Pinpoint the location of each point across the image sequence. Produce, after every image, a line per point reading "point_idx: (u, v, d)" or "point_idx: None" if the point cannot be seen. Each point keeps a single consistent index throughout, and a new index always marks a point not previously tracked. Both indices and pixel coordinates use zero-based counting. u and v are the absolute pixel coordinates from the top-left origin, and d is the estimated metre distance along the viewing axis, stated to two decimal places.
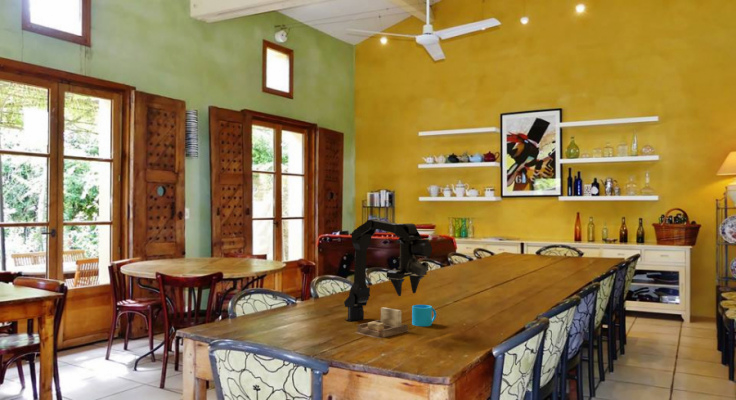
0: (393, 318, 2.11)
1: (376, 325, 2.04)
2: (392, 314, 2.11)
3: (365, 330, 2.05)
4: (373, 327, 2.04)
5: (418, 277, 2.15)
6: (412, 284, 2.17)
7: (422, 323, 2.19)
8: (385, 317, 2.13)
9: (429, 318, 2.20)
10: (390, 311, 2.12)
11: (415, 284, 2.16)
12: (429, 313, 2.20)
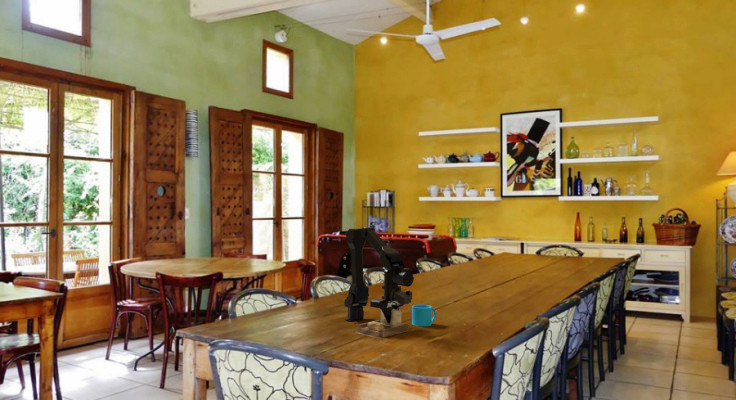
0: (393, 318, 2.11)
1: (376, 325, 2.04)
2: (392, 314, 2.11)
3: (365, 330, 2.05)
4: (373, 327, 2.04)
5: (397, 306, 2.13)
6: None
7: (422, 323, 2.19)
8: None
9: (429, 318, 2.20)
10: None
11: None
12: (429, 313, 2.20)
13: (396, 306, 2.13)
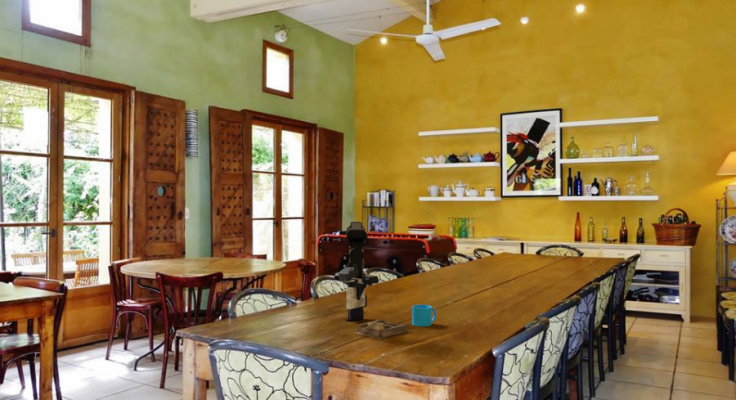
0: None
1: (376, 325, 2.04)
2: None
3: (365, 330, 2.05)
4: (373, 327, 2.04)
5: None
6: None
7: (422, 323, 2.19)
8: None
9: (429, 318, 2.20)
10: None
11: None
12: (429, 313, 2.20)
13: None
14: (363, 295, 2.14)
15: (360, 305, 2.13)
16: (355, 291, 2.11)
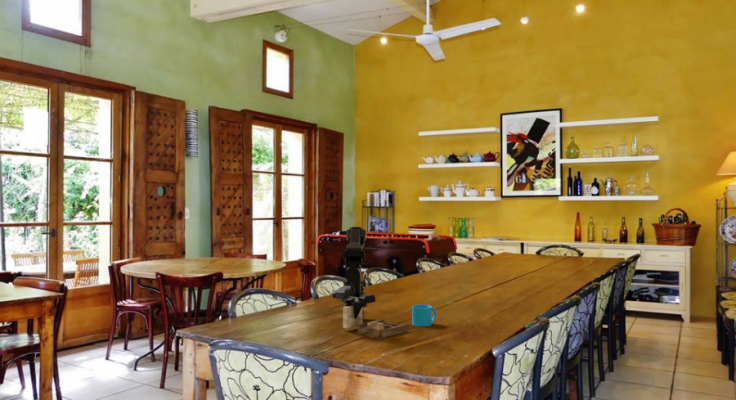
0: None
1: (376, 325, 2.04)
2: None
3: (365, 330, 2.05)
4: (373, 327, 2.04)
5: None
6: None
7: (422, 323, 2.19)
8: None
9: (429, 318, 2.20)
10: None
11: None
12: (429, 313, 2.20)
13: None
14: (360, 314, 2.14)
15: (357, 324, 2.13)
16: (352, 310, 2.11)
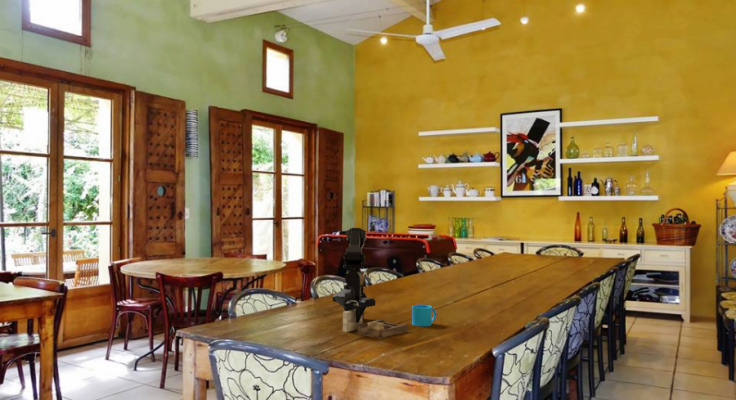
0: None
1: (376, 325, 2.04)
2: None
3: (365, 330, 2.05)
4: (373, 327, 2.04)
5: None
6: None
7: (422, 323, 2.19)
8: None
9: (429, 318, 2.20)
10: None
11: None
12: (429, 313, 2.20)
13: None
14: None
15: None
16: (352, 315, 2.11)
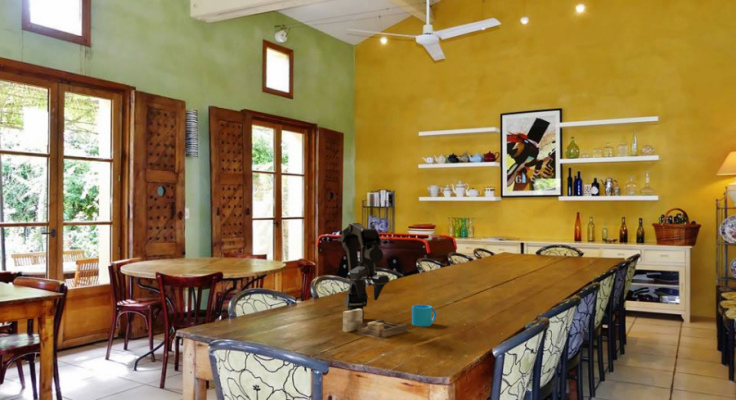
0: None
1: (376, 325, 2.04)
2: None
3: (365, 330, 2.05)
4: (373, 327, 2.04)
5: None
6: None
7: (422, 323, 2.19)
8: None
9: (429, 318, 2.20)
10: None
11: None
12: (429, 313, 2.20)
13: None
14: (360, 318, 2.14)
15: None
16: (352, 315, 2.11)
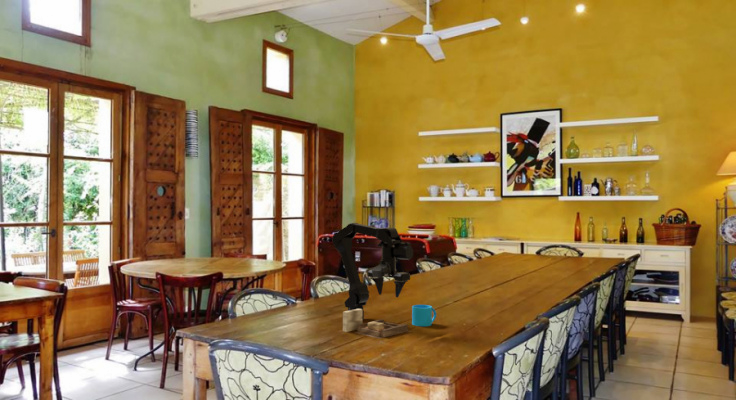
0: None
1: (376, 325, 2.04)
2: None
3: (365, 330, 2.05)
4: (373, 327, 2.04)
5: None
6: None
7: (422, 323, 2.19)
8: None
9: (429, 318, 2.20)
10: None
11: None
12: (429, 313, 2.20)
13: None
14: (360, 318, 2.14)
15: None
16: (352, 315, 2.11)
